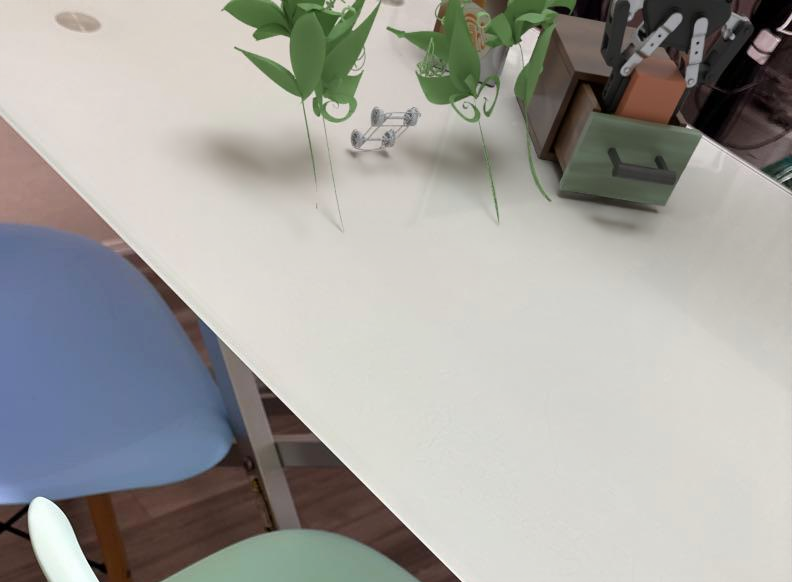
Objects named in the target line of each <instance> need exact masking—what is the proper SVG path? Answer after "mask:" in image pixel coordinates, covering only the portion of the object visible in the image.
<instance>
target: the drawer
mask: <svg viewBox="0 0 792 582" xmlns="http://www.w3.org/2000/svg"><path fill="white" fill-rule="evenodd" d="M605 85H606V84H602V83H597V82H591V81H586V80H580V79H579V80H578V83H577V85H576V87H575V90H574V92H573V95H572V97H571V99H570V102H569V104H568V107H567V109H566V111H565V114H564V116H563V118H562V121H561V123H560V126H559V128H558V130H557V133H556V135H555V138H554V140H553V142H552V145H553V147H554V150H555V152H556V155H557V158H558V160H559V162H558V163H559V165H560V168H561V171H562V173H563V174H562V176H561V178H560V181H559V187H560V190H562V191H568V192H575V193H580V194H586V195H592V196H599V197H603V198H611V199H617V200H622V201H623V200H624V201H629V202H633V203H641V204H647V205H654V206H660V207H665V206H666V205H667V203H668V201H669V199H670V197H671V195H672V193H673V191H674V190H675V188H676V186H677V184H678V183H679V181H680V178H681V177H682V175H683V173H684V172H685V169H686V168H687V166H688V164H689V162H690V160H691V158H692V157H693V155H694V153H695V151H696V149H697V147H698V146H699V143H700V142H701V140H702V138H703V134H702V132H701V130H700V129H696V128H695V129H694V128H688V127H687V126H688V123H687V121H686V119H685V117H684V115H683V114H682V112H681V110H680V111H679V112H678V113H677V114H676V115H675V117H671V118H670V120H669V122H668V124H661V123H655V122H650V121H644V120H638V119H632V118H627V117H621V116H615V115H611V113H610V112H607V111H606V109H605V107H604V103H603V101H602V92H603V90H604V88H605Z"/></svg>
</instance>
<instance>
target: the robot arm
mask: <svg viewBox="0 0 792 582" xmlns="http://www.w3.org/2000/svg"><path fill="white" fill-rule="evenodd" d="M733 3H734V0H610V1H609V5H608V10H607V14H606V20H605V22H606V25H605V30H604V34H603V39H602V44H601V49H600V52H601V55H602V57H603V59H604V60H605V62H606V64H607V66H610V67H613V69H612V72H611V74H610V76H609V78H608V81H607V83H606V85H605V88H604V90H603V92H602V101H603V103H604V107H605V109H606V111H607V112H610V113H615V112H616V110H617V108H618V106H619V103H620V101H621V99H622V97H623V95H624V92H625V90H626V88H627V86H628V84H629V81H630V79H631V77H630V76H629V75H630V74H631V73H632V72H633V71H634V70H635V69H636V67H637V66H638V65H639V64H640V63H641V62H642V61H643V59H645V58H648V57H649V56H650V55H651V54H652V53H653V52H654V51H655V49H656V48H657V47H663V48H664V49H665V48H673V49H675V50H677V51H678V54H679V57H678V66H677V68H678V69H679V71H680V73H681V74H682V76H683V78H684V79H685V81H686V82H687V86H686V88H685V90H684V92H683V94H682V96H681V98H680V100H679V102H678V104H677V106H676V108H675V110H674V112H673V114H672V116H671V117H675V115H676V114H677V113H678V112H679V110H680V108H681V106H682V104H683V102H684V100H685V98H686V96H687V94H688V92H689V90H690V91H691V89H692V88H693V87H694V86H696V85H697V84H704V83H705V85H712V84H714V83H715V82H717V80H718V79H719V77H720V76H721V75H722V74H723V73H724V71H725V70H726V69H727V67H728V66H729V64H730V63H731V62H732V61H733V59H734V58H735V57H736V55H737V54H738V53H739V52H740V50H741V49H742V47H743V46H744V45H745V44H746V43H747V41H748V40H749V39H750V37H751V36H752V34H753V33H754V30H755V26H754V25H753V24H752V21H750V19H749V18H748V17H747V16H746V14H744V13H735V12H734V11H733ZM640 10H641V14H642V19H643V20H642V22H641V23H639V25H638V26H637V27H636V28H637V29H636V30H635V31H634V32H633V34H632V35H631V37H630V40H629V42H628V43H627V44H626V45H625V47H624V48H623V49H622V50H621V47H622V43H623V38H624V33H625V29H626V26H627V24H628V22H631V21H632V20H633V19H634V17H635V15H636V13H637V12H638V11H640ZM721 27H722V28H721ZM720 28H721V29H720ZM719 29H720V36H719V37H718V38H717V40H716V41H715V43H714V44H713V45H712V47H711V48H710V49H709V50H708V52H707V53H706V54H705V56H704V58H703V55H704V49H705V42H706V39H707V38H708V37H710V36H711V35H712V34H714V33H715V32H716V31H718V30H719ZM647 37H648V38H647ZM686 99H687V98H686ZM684 103H685V102H684ZM683 105H684V104H683ZM682 107H683V106H682ZM681 109H682V108H681ZM680 111H681V110H680Z"/></svg>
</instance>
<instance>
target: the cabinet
mask: <svg viewBox="0 0 792 582" xmlns="http://www.w3.org/2000/svg"><path fill="white" fill-rule="evenodd" d="M556 21H558V23H557V25H556V26H555V28H554V29H553V31H552V35H551V38H550V42H549V46H548V49H547V53H546V56H545V59H544V62H543V71H542V73H541V74H540V75H539V78H538V81H537V84H536V87H535V90H534V92H533V95H532V97H531V99H530V102H529V104H528V106H527V120H528V133H529V136H530V138H531V141H532V143H533V146H534V149H535V152H536V154H537V155H536V156H537V157H538V159H541V160H545V161H553V162H558V163H559V160H558V158H557V155H556V152H555V150H554V147H553V145H552V142H553V140H554V138H555V135H556V133H557V130H558V128H559V126H560V123H561V121H562V118H563V116H564V114H565V111H566V109H567V107H568V104H569V102H570V99H571V97H572V95H573V92H574V90H575V87H576V85H577V83H578V80H579V79H580V80H586V81H591V82H597V83H602V84H606V83H607V81H608V78H609V76H610V74H611V72H612V69H613V67H610V66H607V64H606V62H605V60H604V59H603V57H602V55H601V52H600V49H601V44H602V39H603V34H604V30H605V25H606V21H600V20H595V19H590V18H584V17H579V16H574V15H569V14H563V13H558V16H557V17H556V18H555V19H554V20H553V21H552V23H551V24H550V23H549V25H548V27H549V26H551V25H552V24H553V23H555V22H556ZM637 28H638V27H632V26H627V25H626V29H625V33H624V38H623V43H622V47H621V50H622V49H623V48H624V47H625V45H626V44H627V43H628V42H629V40H630V37H631V35H632V34H633V32H634V31H635V30H636V29H637ZM544 31H545V29H544V28H543V27H542V26H541V28H540V31H539V34H538V37H537V38H536V42H535V45H534V48H533V51H532V52H531V56H530V58H529V61H531V60H532V56H533V53H534V50H535V47H536V44H537V42H538V40H539V38H540V36H541V35H542V33H543V32H544ZM647 38H648V37H647ZM649 57H654V58H659V59H665V60H670V61H672V59H671V57H670V56H669V54H668V52H667V50H666V48H665V47H664V48H663V47H657V48H656V49H655V51H654V52H653V53H652V54H651V55H650V56H649ZM529 61H528V62H529ZM690 93H691V89H690V90H689V92H688V94H687V96H686V98H685V100H684V102H683V104H682V106H681V108H680V110H679V111H680V112H681V111H682V108H683V107H684V104H685V102H686V101H687V98H688V96H689V95H690ZM515 96H516V95H515ZM516 99H517V102H518V105H519V107H520V110H521V113H522V116H523V118H524V121H525V123H526V108H525V100H522V99H520V98H519V97H517V96H516Z"/></svg>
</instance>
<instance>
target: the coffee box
mask: <svg viewBox="0 0 792 582" xmlns="http://www.w3.org/2000/svg"><path fill="white" fill-rule="evenodd" d="M459 1H460V5H461V6H462V5H463V0H459ZM469 1H470V0H469ZM469 1H468V2H469ZM508 1H509V0H472V2H471V3H470V4H468V3H466V4H465V6H464V9H463V12H464V13H463V14H464V17H465V20H466V22H467V25H468V28H469V31H470V35H471V39H472V43H473V45H474V47H475V49H476V50H477V53H478V55H479V59H480V66H481V72H480V78H479V82H480V83H481V84H482V83H483V82H484V81H485V79H486V78H487V77H489V76H490V75H497V76H498V77H499V78H500V77H501V75H502V73H503V71H504V69H505V64H506V61H507V58H508V54H509V51H510V49H511V47H507V46H506V45H500V46H497V47H495V48H492V47H489V46H487V45H485V42H486V41H487V39H488V38H489V37H490V36H491V35H492V34H487V33H484V32H485V29H486V28H483V29H481V28H479V27H478V26H477V18H478V17H477V14H478V13H480V12H484V11H485V12H486V13H488V14H489V15H490V22H489V24H490V23H491V21H492V20H493V19H494V18H495V17H496V16H498V15H499V14H501V13H503V14H504V12H505V10H506V9H507V3H508ZM441 2H442V1H441V0H440V3H441ZM448 3H449V0H446V1H445V2H443V3H442V4H441V5H440V6H439V7H438V12H437V14H436V15H437V17H438V18H440V19H442V18H443V17H444V16H445V14H446V10H447V6H448ZM486 16H487V15H484V16H482V17H480V18H479V21H478V23H479V25H480V26H482V27H483V26H485V25H486V24H487V22H488V18H486ZM443 20H445V18H444V19H443ZM443 23H444V22H443ZM432 31H433V32H438V33H441V34H444V35H445V29H444V25H442V23H441V21H439V20H438V19H437V18H435V23H434V25H433V30H432ZM429 55H430V53H429V54H428V59H429ZM426 56H427V55H426ZM431 56H432V54H431ZM431 56H430V58H431ZM437 58H438V57H437ZM433 59H434V60H435V62H436V63H437V61H436V60H437V59H436V58H435V57H434V56H433ZM433 59H431V61H430V62H429V61H428V60H427V63H428V64H429V65H430V64H433V67H436V68H438V67H437V66H436V64H435V63H434V61H433ZM438 59H440V58H438ZM425 61H426V57H425V60H424V63H425ZM442 61H443V60H442V59H440V62H442ZM444 64H445V62H444ZM444 64H443V66H444ZM437 65H438V63H437ZM441 65H442V63H441ZM439 69H441V66H440V67H439ZM444 69H445V68H444ZM444 69H443V70H444ZM445 71H447V72H449V65H447V68H446V70H445ZM485 85H488V86H491V87H494V86H496V82H495V80H493V79H491V80H489V81H488V82H487V83H486V84H485Z"/></svg>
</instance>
